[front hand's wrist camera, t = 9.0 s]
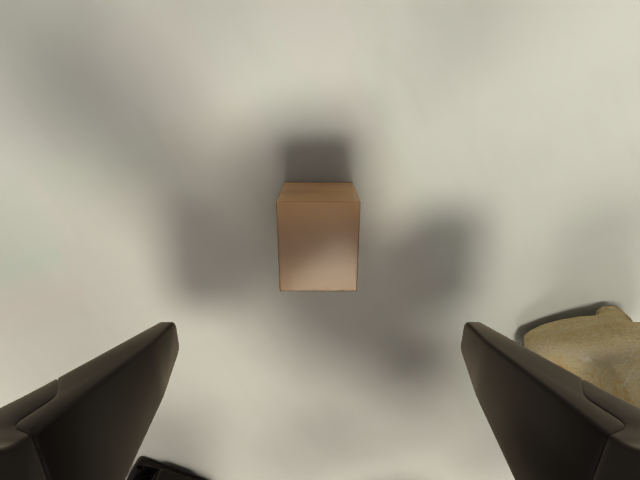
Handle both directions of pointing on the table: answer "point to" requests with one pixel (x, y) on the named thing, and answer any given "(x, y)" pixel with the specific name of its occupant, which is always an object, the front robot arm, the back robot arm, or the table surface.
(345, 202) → the block
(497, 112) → the table surface
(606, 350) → the sculpture
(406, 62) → the table surface
